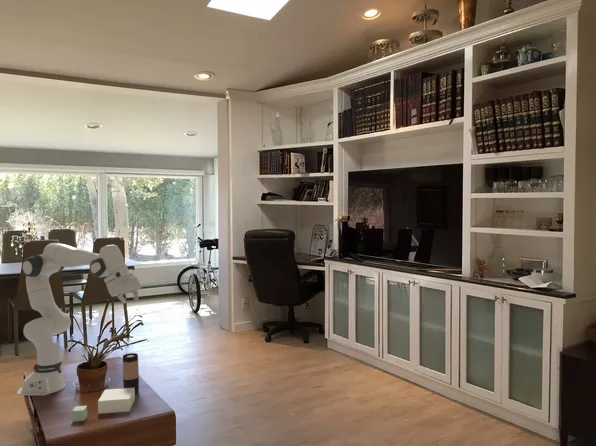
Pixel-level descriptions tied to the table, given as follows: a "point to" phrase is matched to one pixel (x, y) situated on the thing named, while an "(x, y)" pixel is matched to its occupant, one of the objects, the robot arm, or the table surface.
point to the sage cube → (79, 413)
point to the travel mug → (131, 371)
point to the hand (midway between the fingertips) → (130, 301)
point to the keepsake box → (116, 400)
